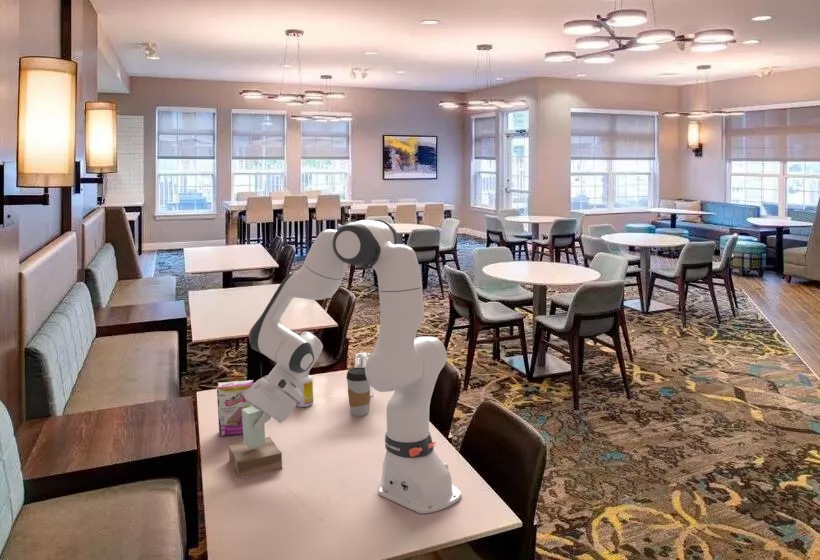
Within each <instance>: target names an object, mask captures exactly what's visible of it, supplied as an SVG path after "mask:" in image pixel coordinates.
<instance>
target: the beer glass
mask: <svg viewBox="0 0 820 560" xmlns="http://www.w3.org/2000/svg"><path fill="white" fill-rule="evenodd" d="M371 354H372V353H368V352H363V353H362V352H360V353H357V354H355V355H354V356H355V357H354V368H357V367H363V368H365V365H366V362H367V360H368V358H369V357H370V355H371ZM373 391H374V390H373V387H372V386H371V385H370V396H371V397H373V396H374V392H373ZM372 395H373V396H372Z"/></svg>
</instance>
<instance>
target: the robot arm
mask: <svg viewBox="0 0 820 560" xmlns="http://www.w3.org/2000/svg"><path fill="white" fill-rule="evenodd" d="M349 265H352V266H354V267H355V266H356V267H358V268H359V267H360V268H364V269H366V270H368V269H370V268H373V270H374V271H375V274H376V276H377V285H378V297H379V298H378V299H379V311H380V312H379V313H380V324H379V330H378V336H377V340H376V343H375V346H374V348H373V351H372V352H371V353H370V354H371V355H370V357H369V358H368V360H367V362H366V365H365V375H366V378H367V381H368V382H369V384H370V385H371V386H372V389H374V390H375V391H377V392H380V393H386V392H387V393H388V392H393V394H392V396H391V397H390V399H389V400H388V402H387V405H386V431H385V436H384V446H385V447H384V448H385V450H386V452H385V455H384V459H383V463H382V472H381V473H382V474H381V484H380V486H379V488H378V491H377V492H378V493H377V494H378V495H379V496H381V497H383V498H385V499H388V500H390V501H392V502H394V503H397V504H399V505H401V506H403V507H404V508H406V509H407V508H408V509H409V510H410V511H414V512H416V513H418V514H429V513H435V512H438V511H441V510H443V509H446V508H448V507H451V506H452V505H454V504H456V503H457V502H458V501H460V499H461V498H462V492H461V490H460V489H458V488H457V487H456V486H455V485H453V482H452V476H451V473H450V470H449V466H448V464H447V462H443V461H442V460H441V458H440V457H439V456H438V454H437V453H436V451H435V448H434V447H436V443H437V442H436V441H434V442H433V437H432V434H431V432H430V405H431V401H432V400H431V399H432V396H433V392H434V389H435V386H436V383H437V380H438V377H439V374H441V373H440V372H441V370H443V368H444V367H445V365H446V363H447V359H448V358H447V357H448V353H447V350H446V347H445V345H444V343H443V342H442V341H441V340H440V339H439V338H437V337H435V336H430V335H427V336H422V335H421V336H417V337H416V335H417V332H418V330H419V327H420V326H421V324H422V323H423V321H424V318H425V305H424V293H423V283H422V282H423V281H422V275H421V270H420V264H419V261H418V258H417V255H416V251H415V250H414V249H413V248H412V247H410V246H409V245H405V244H402V243H401V244H400V243H399V237H398V233H397V230H396V229H395V227H394V226H393V225H392V224H391V223H389V222H387V221H385V220H380V219H371V220H370V219H360V220H356V221H349V222H347V223H345V224H343V225H342V226H341V227H339V228H338V229H332V228H328V229H324V230H322V231H320V233H319V234H318V235H317V236H316V238H315V240H314V241H313V243H312V245H311V247H310V248H309V251H308V252H307V255H306V256H305V259H304V262H303V264H302V265H301V267H300V268H299V270H298V271H293V272H291V273H288V275H287V276H285V278H284V279H283V280H282V281H281V283H279V286H278V287H277V289H276V290H275V292H274V294H273V295H272V297H271V298H270V300H269V302H268V304H267V306H266V307H265V309H264V310H263V312H262V313H261V314H260V316H259V318H258V319H257V321H256V322H255V323H254V324H253V326H252V327H251V328H250V330H249V333H248V341H249V344H250V345H249V346H250V348H251V349H252V350H253V351H256V352H258V353H260V354H261V355H264V356H266V357H267V358H268V359H270V360H271V361H272V362H273V361H274V363H276V364H274V365H275V366H274V367H273V368H272V370H270V372H269V374H268V375H264V376H263V377H261V378H259V379H257V380H256V381H255V382H253V385H252V386H251V388H250V389H249V390H248V391H247V392H246V394H245V397H244V398H245V399H246V400H247V401H249V402H250V403H252V404H251V405H250V406H249V407H252V406H256V407H258V408H259V409H261V410H262V411H264V413H263V414H262V417H261V418H260V419H259V420H256V421H255V423H254V424H253V426H254V427H256V428H257V429H260V428H261V426H262V425H263V424H264V425H265V424H266V423H267V422H269V421H270V420H271V418H272V419H273V420H275V421H277V422H278V423H280V424H281V423H283V422H285V421H286V420H287V419H288V417H289V416H290V414H291V413H292V412H293V410H294V409H295V407H296V401H300V400H301V398H302V397H303V395H302V393H301V391H300V389H299V387H298V386H299V384H300V383H301V381H302V378H303V377H304V375H305V374H306V373H308V372H309V373H310V371H311V369H312V368H313V367H314V365H315V364H316V362H317V360H318V359H319V357H320V355H321V353H322V351H323V349H324V345H323V343H322V342H323V341H321V340H320V338H318V337H317V336H316V335H315V334H314V333H312V332H310V331H303V332H302V333H300V334H298V333H296V332H294V331H292V330H291V329H289V328H288V327H286V326H285V325H283V324H282V321H281V318H282V316H283V315H284V313H285V312H286V310H287V308H288V307H289V305H290V304H291V302H292V300H293V299H294V298H297V299H303V300H310V301H319V300H326V299H328V298H330V297H332V296H334V295H335V294H336V292H337V291H338V289H339V288H340V286H341V284H342V281H343V279H344V277H345V273H346V270H347V269H348V266H349Z"/></svg>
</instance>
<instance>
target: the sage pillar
mask: <svg viewBox="0 0 820 560" xmlns="http://www.w3.org/2000/svg"><path fill="white" fill-rule="evenodd" d="M263 413H264V411H262V410H261V409H259V408H258V407H256V406H252V407H248V408H244V409H242V423H243V434H242V436H243V442H244V443H245V444H246V445H247V446H248V447H250V448H252V447H256V446H259V445H262V444H265V438H266V430H265V427H266V426H265V424H263V425H262V426H261V428H260V429H257V428H256V427H254V426H253V424H254V423H255V421H256V420H259V419H260V418H261V417H262V414H263Z"/></svg>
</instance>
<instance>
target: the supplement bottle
mask: <svg viewBox="0 0 820 560" xmlns="http://www.w3.org/2000/svg"><path fill="white" fill-rule="evenodd" d="M313 385H314V383H313V377H312V376H311V375H310V371H309V372H308V373H306V374H305V375H304V377H303V378H302V381H301V383H300V384H299V386H298V387H299V389H300V391H301V393H302V395H303V397H302V398H301V400H300V401H296V405H295V407H299V408H307V407H310V406H312V405H313V404H314V387H313Z"/></svg>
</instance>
